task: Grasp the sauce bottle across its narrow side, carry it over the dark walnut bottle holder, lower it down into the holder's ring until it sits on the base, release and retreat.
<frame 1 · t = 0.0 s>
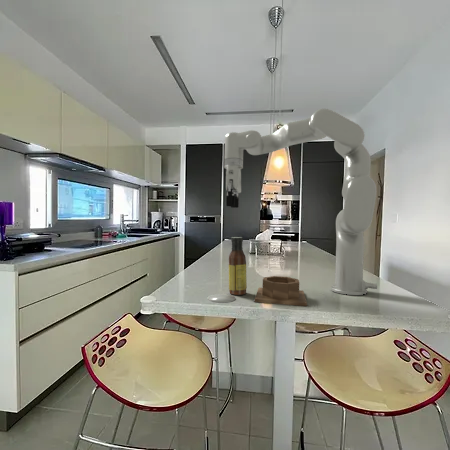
hand: (232, 206, 116), 31 cm above the kitchen island, tool pointing down, fingers open, 9 cm apart
holder: (280, 297, 97), on the kitchen island
sauce bottle: (237, 294, 101), on the kitchen island
coaster: (221, 299, 94), on the kitchen island
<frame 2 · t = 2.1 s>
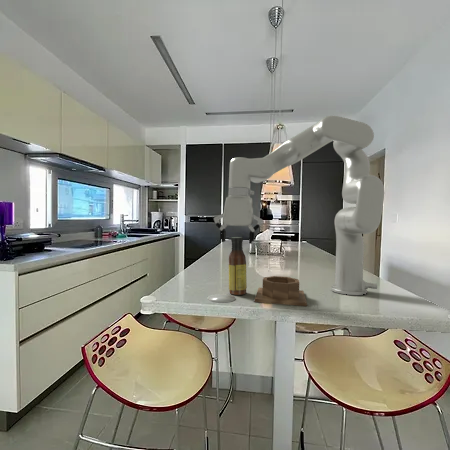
hand: (236, 242, 100), 18 cm above the kitchen island, tool pointing down, fingers open, 9 cm apart
nothing on the kitchen island moved.
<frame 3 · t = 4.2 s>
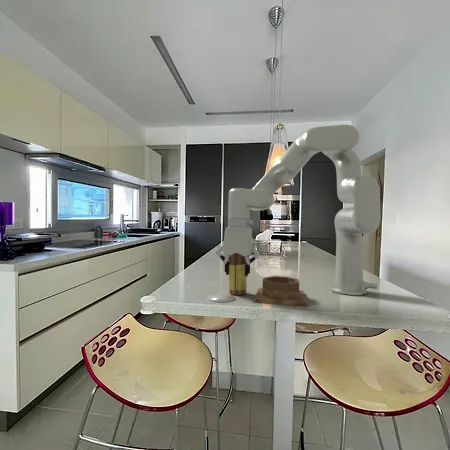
hand: (237, 274, 100), 7 cm above the kitchen island, tool pointing down, fingers closed on sauce bottle, 6 cm apart
sauce bottle: (237, 294, 101), on the kitchen island, touching gripper
everything else where it was.
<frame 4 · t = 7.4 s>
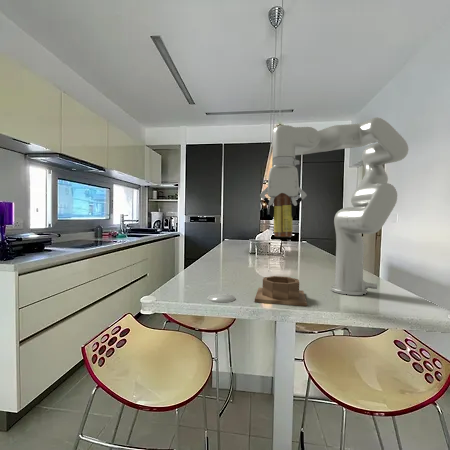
hand: (282, 217, 96), 27 cm above the kitchen island, tool pointing down, fingers closed on sauce bottle, 6 cm apart
sauce bottle: (282, 237, 96), point 20 cm above the kitchen island, touching gripper
everything else where it was.
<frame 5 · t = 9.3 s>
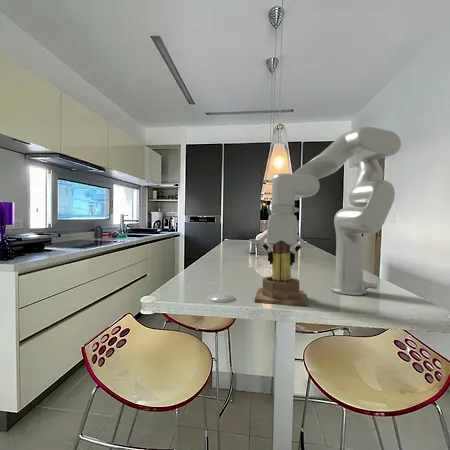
hand: (281, 263, 96), 11 cm above the kitchen island, tool pointing down, fingers closed on sauce bottle, 6 cm apart
sauce bottle: (280, 284, 96), point 5 cm above the kitchen island, touching gripper
everything else where it was.
when the fingers open (9 cm above the kitchen island, at t = 11.0 s): sauce bottle moves 1 cm, resting on holder.
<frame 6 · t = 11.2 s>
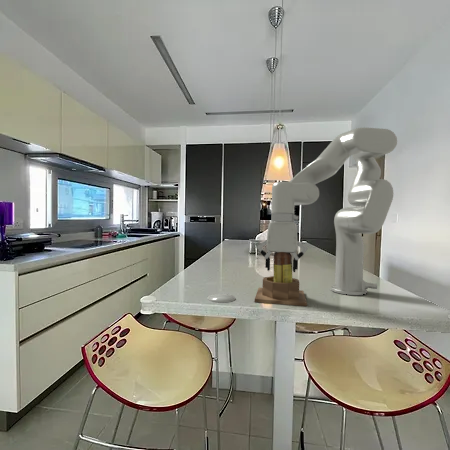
hand: (281, 270, 96), 9 cm above the kitchen island, tool pointing down, fingers open, 8 cm apart
sauce bottle: (282, 295, 97), point 1 cm above the kitchen island, touching holder
everything else where it was.
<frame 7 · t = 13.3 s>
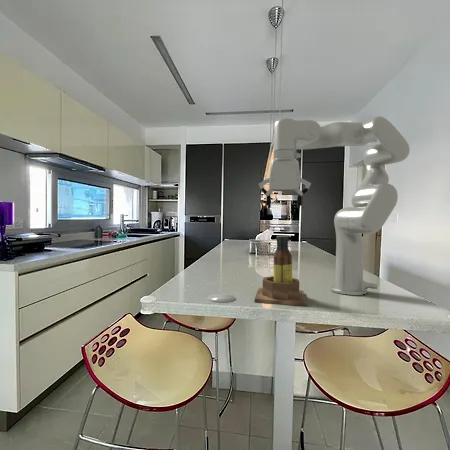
hand: (283, 208, 97), 30 cm above the kitchen island, tool pointing down, fingers open, 9 cm apart
nothing on the kitchen island moved.
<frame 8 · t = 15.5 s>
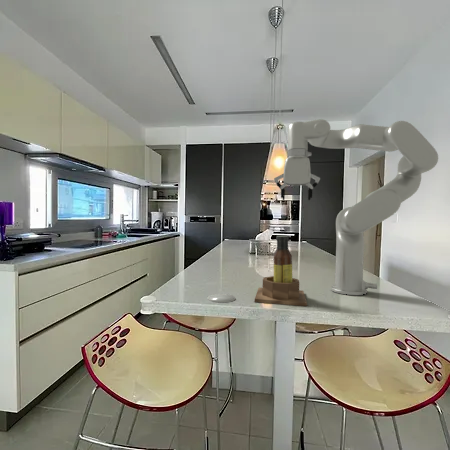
hand: (296, 199, 111), 34 cm above the kitchen island, tool pointing down, fingers open, 9 cm apart
nothing on the kitchen island moved.
at the end: sauce bottle 0.6 cm off-centre on the holder, point 0.8 cm above the holder's base; sauce bottle tilted 0°; the gripper is holding nothing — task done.
